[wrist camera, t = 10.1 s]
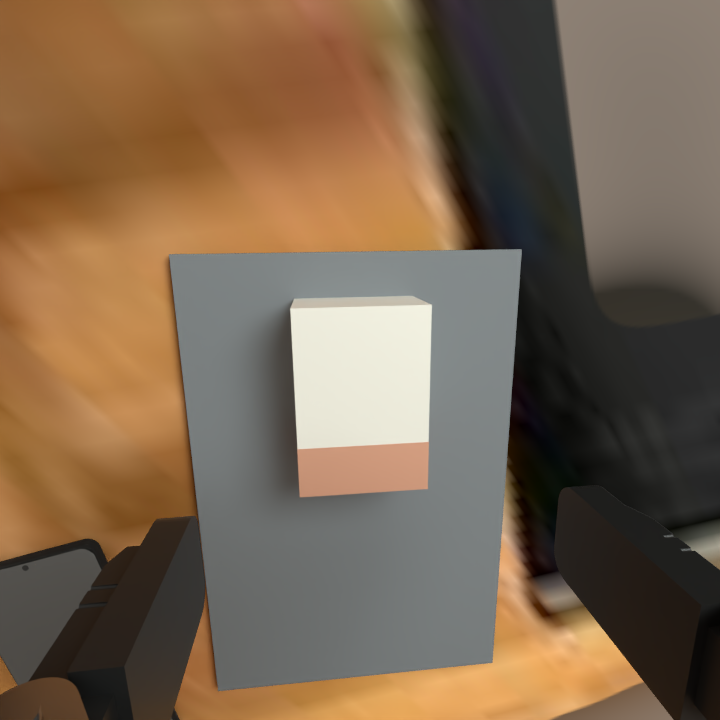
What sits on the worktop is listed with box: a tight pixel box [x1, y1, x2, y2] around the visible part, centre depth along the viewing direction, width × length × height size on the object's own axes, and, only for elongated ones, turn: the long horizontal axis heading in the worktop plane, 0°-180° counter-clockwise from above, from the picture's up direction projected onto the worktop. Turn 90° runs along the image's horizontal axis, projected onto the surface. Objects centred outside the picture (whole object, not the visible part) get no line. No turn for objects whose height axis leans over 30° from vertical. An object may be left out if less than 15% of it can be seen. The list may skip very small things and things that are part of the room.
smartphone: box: [0, 539, 179, 720], centre depth 25 cm, size 7×1×15 cm
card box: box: [290, 296, 432, 497], centre depth 20 cm, size 8×6×4 cm
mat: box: [169, 249, 522, 691], centre depth 23 cm, size 24×16×1 cm, turn 1°
